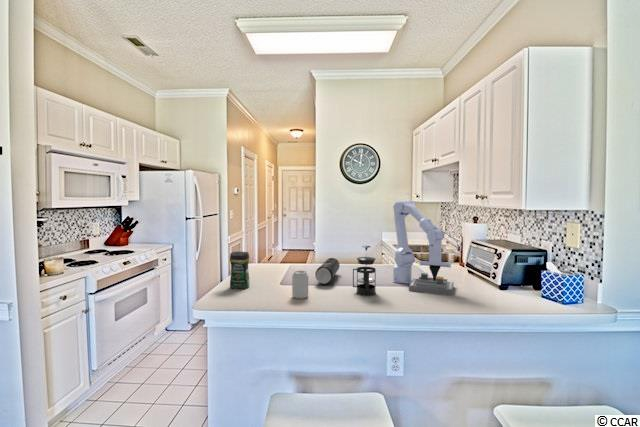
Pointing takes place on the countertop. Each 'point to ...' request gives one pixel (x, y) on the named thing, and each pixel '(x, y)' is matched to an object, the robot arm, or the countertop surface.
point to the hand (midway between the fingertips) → (434, 280)
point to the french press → (365, 276)
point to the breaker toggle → (440, 280)
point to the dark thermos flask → (327, 271)
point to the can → (300, 284)
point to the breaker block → (431, 285)
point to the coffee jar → (239, 270)
